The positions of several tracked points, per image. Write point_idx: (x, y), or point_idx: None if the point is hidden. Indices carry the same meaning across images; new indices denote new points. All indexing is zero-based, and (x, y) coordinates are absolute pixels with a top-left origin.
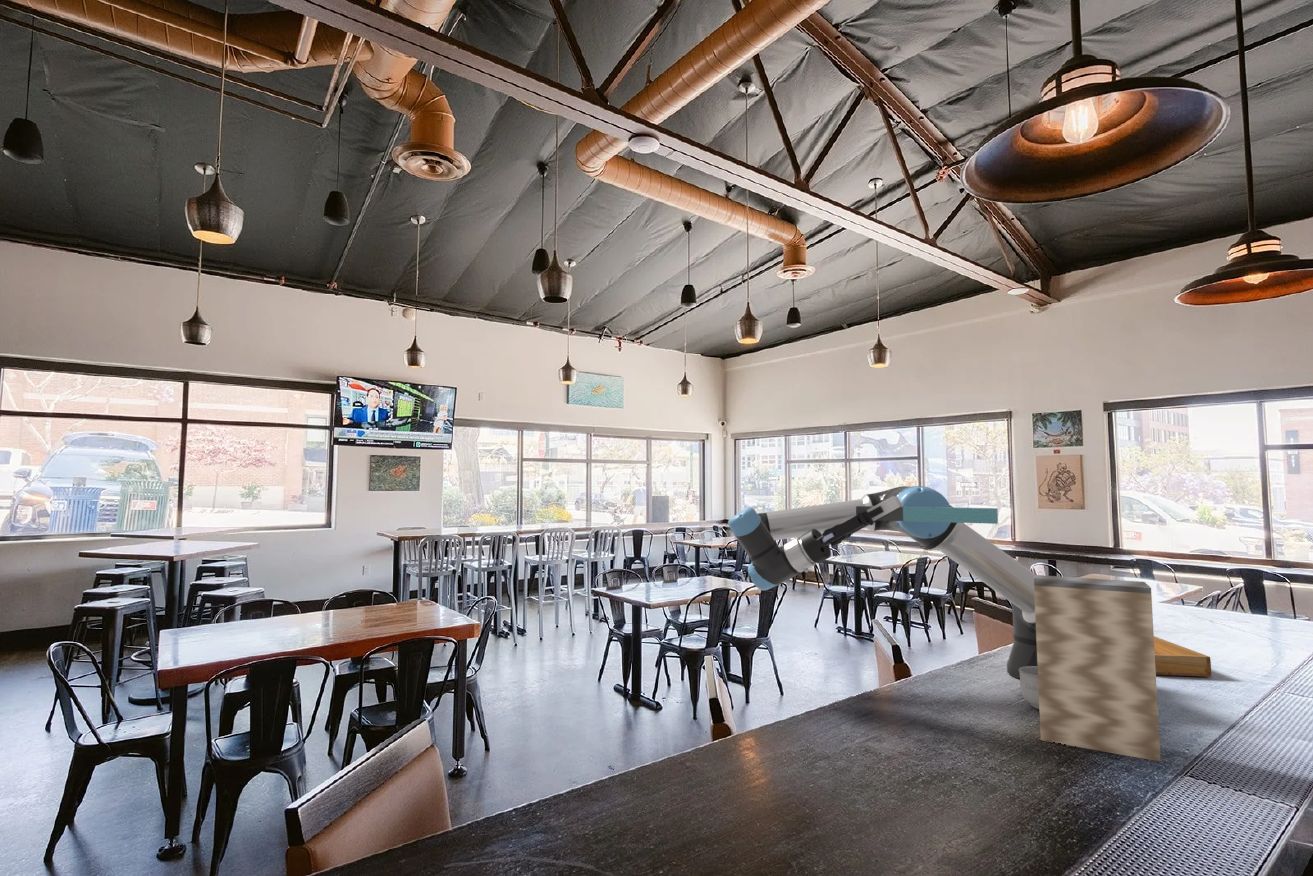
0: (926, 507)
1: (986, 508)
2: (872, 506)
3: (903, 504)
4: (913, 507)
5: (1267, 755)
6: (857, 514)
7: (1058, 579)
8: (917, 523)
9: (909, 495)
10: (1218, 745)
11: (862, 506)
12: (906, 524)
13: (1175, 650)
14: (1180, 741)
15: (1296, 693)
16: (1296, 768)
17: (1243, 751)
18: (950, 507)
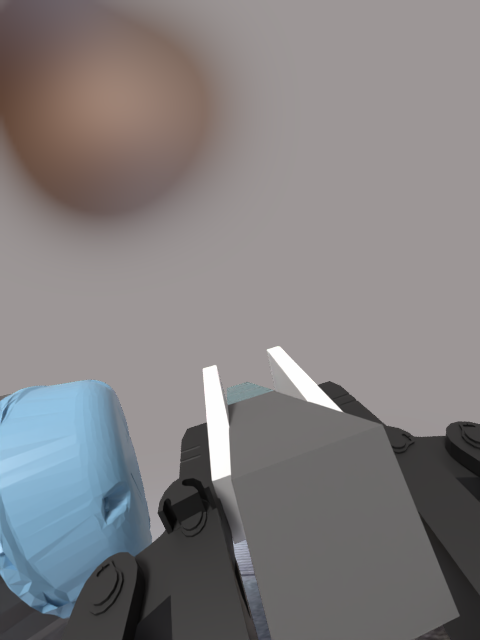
0: (255, 388)
1: (241, 384)
2: (290, 410)
3: (112, 440)
4: (267, 388)
5: (243, 549)
6: (414, 520)
7: None
8: (141, 504)
9: (105, 401)
10: (241, 571)
11: (343, 412)
12: (138, 531)
13: None
14: (248, 591)
15: None
16: None
17: (244, 559)
18: (229, 392)
